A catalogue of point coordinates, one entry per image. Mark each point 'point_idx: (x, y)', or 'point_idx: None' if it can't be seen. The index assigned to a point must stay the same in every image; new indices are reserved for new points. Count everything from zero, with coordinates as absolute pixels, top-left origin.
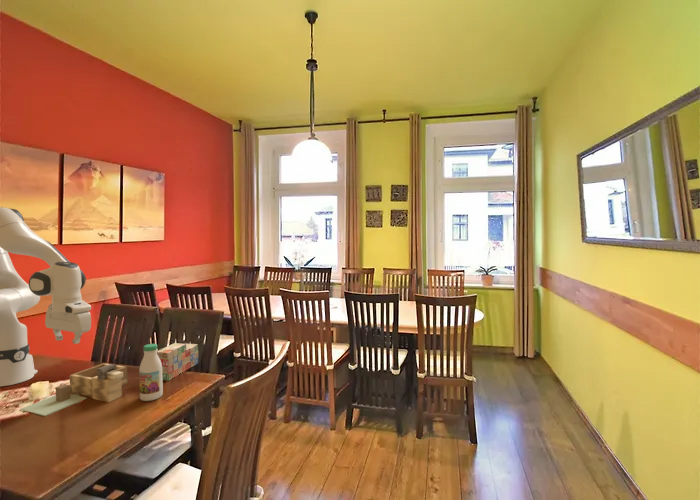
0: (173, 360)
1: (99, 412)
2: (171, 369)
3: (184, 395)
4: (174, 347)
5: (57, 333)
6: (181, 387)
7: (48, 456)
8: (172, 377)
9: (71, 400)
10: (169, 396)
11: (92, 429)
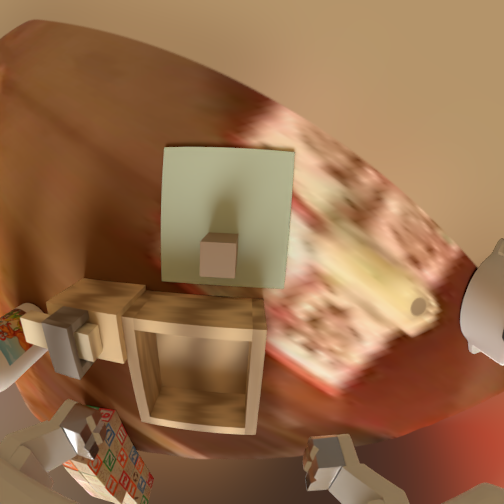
0: None
1: (55, 222)
2: None
3: None
4: (83, 481)
5: (354, 490)
6: (37, 374)
7: (23, 71)
8: None
9: (187, 250)
10: None
11: (16, 159)
